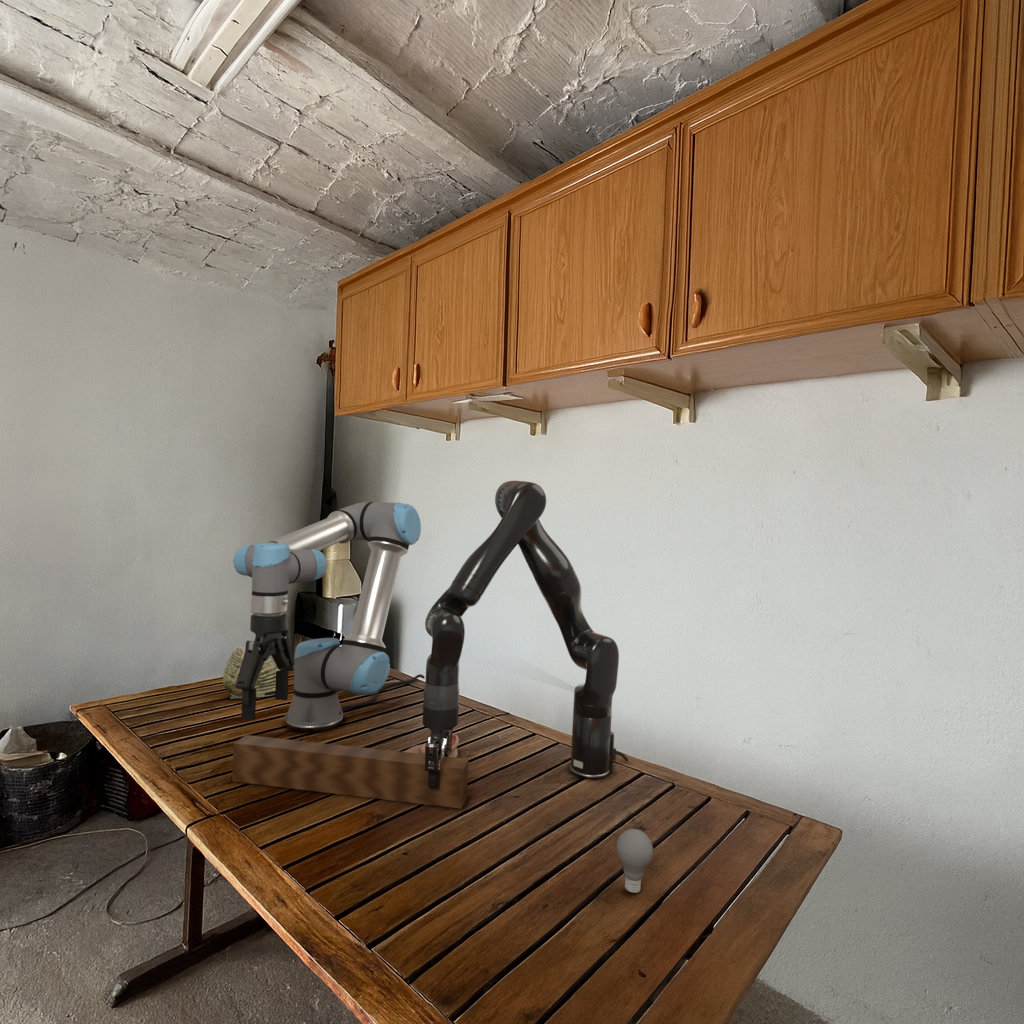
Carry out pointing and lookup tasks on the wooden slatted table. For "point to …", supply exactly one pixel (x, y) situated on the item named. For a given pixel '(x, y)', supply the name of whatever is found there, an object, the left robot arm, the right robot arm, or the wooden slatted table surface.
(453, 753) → the anatomical model
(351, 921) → the wooden slatted table surface
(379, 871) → the wooden slatted table surface
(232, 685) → the fossil
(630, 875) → the light bulb
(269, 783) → the beam
